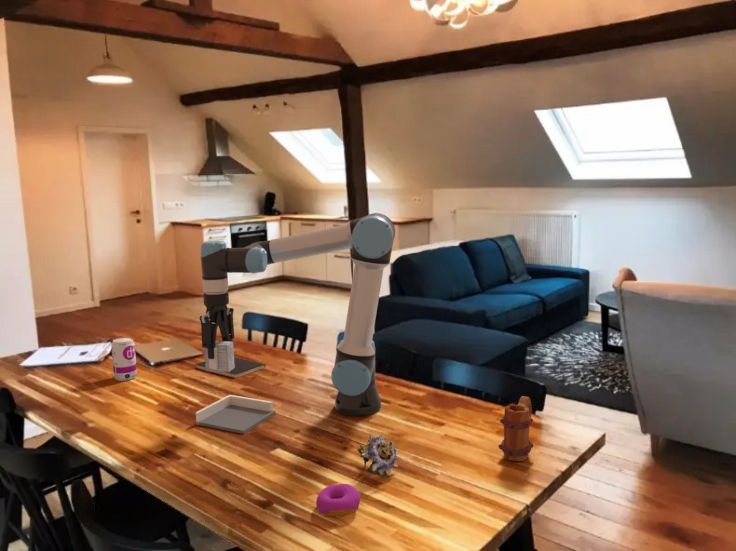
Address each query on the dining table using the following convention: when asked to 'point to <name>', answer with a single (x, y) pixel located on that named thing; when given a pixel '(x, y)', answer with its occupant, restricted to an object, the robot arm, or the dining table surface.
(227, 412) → the tray
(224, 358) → the medicine box
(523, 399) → the mug
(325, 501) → the donut
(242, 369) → the hardcover book
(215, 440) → the dining table surface
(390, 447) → the passion flower
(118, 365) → the supplement can
